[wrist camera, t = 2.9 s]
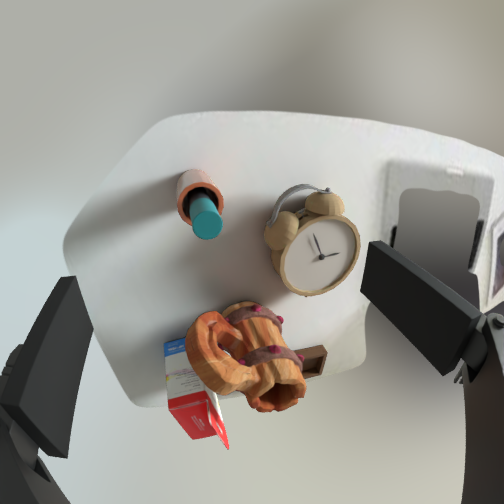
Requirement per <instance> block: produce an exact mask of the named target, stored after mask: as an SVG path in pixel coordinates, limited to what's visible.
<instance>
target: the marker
mask: <svg viewBox="0 0 504 504" xmlns="http://www.w3.org/2000/svg"><path fill="white" fill-rule="evenodd" d="M187 195H188V200H189V205H190V217H191V223H192V228H193V231H194V233H195V234H196V235H197V236H198V237H199V238H201V239H206V240H208V239H213V238H215V237H216V236H218V235H219V233H220V232H221V230H222V227H223V222H222V219H221V217H220V215H219V213H218V211H217V209H216V207H215V205H214V203H213V202H212V201H211V200H210V198H209V196H208V194H207V192H206V190H205V188H204V187H196V188H194V189H192V190H190V191H188V193H187Z"/></svg>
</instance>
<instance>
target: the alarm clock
mask: <svg viewBox="0 0 504 504" xmlns="http://www.w3.org/2000/svg"><path fill="white" fill-rule="evenodd" d="M303 189H314V190H317V191H318V192H314V193H312V194H311V195H309V196H308V197H307V199H306V201H305V209H302V210H300V211H297V212H296V213H295V214H293V213H291V212H289V211H282V212H279V209H280V207H281V205H282V204H283V202H284V201H285V200H286V199H287V198H288V197H289V196H290V195H292V194H293V193H295V192H297V191H299V190H303ZM278 212H279V213H278ZM343 212H344V203H343V201H342V199H341V198H340V197H339V196H337V195H336V194H334V193H332V192H330V188H328V187H327V188H326V190H319V189H317V188H316V187H314V186H312V185H308V184H301V185H296V186H294V187H291V188H289V189H288V190H287V191H285V192H284V193H283V194H282V195H281V196H280V197H279V199H278V200H277V202H276V204H275V206H274V210H273V214H272V216H271V218H270V220H269V221H267V222H266V227H265V230H264V238H265V241H266V243H267V245H268V246H269V247H270V248H272V250H271V260H272V263H273V267H274V269H275V271H276V272H277V273H278V275H279V276H280V277H281V279H282V281H283V283H284V284H285V285H286V286H287V287H288V289H289V290H290V291H292V292H294V293H296V294H298V295H302V296H305V297H307V296H315V295H320V294H323V293H325V292H327V291H330V290H332V289H334V288H335V287H336V286H337V285H339V284H340V283H341V282H342V281H344V280H345V278H346V277H347V276H348V275H349V274H350V272H351V271H352V270H353V268H354V266H355V264H356V262H357V260H358V256H359V252H360V247H361V246H360V235H359V233H358V230H357V228H356V226H355V225H354V224H353V223H352V222H351V221H350V220H349V219H347V218H346V217H344V216H342V215H341V214H342V213H343Z"/></svg>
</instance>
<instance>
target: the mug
mask: <svg viewBox="0 0 504 504" xmlns="http://www.w3.org/2000/svg"><path fill="white" fill-rule="evenodd" d="M282 323H283V318H282V317H281V316H276V315H275V314H274V313H273V312H272V311H271V310H269V309H268V308H265V307H263V306H262V305H260V304H257V303H255V302H251V301H245V302H241V303H237V304H233V305H231V306H229V307H228V308H226V309H225V310H224V311H223V313H222V314H221V315H220V314H219V313H218V312H217V311H210V312H206V313H203V314H202V315H201V316H199V317H198V318H197V319H196V320H195V322H194V323H193V324H192V326H191V327H190V328H189V329H188V331H187V335H186V338H185V351H186V354H187V357H188V360H189V362H190V364H191V366H192V368H193V370H194V371H195V373H196V374H197V375H198V377H199V378H200V379H201V380H202V382H203V383H204V384H205V385H206V386H207V387H208V388H209V389H210V390H212V391H213V392H215V393H216V394H220V395H227V394H229V393H231V392H233V391H235V390H236V391H240V392H241V393H243V394H244V395H245V396H246V398H247V401H248V403H249V405H250V407H251V408H254V409H255V408H256V410H257V411H258V412H271V411H272V410H276V411H278V412H279V411H283V410H285V409H287V408H289V407H291V406H293V405H295V404H297V403H298V398H304V394H305V391H306V383H305V380H304V378H303V376H302V374H301V373H302V363H303V361H304V357H303V355H301V354H296V353H295V352H293V351H292V350H290V349H288V347H287V345H286V344H285V342H284V340H283V338H282V336H281V334H282V326H281V324H282ZM217 342H218V346H217ZM223 350H225V351H227V352H228V353H230V355H231V357H230V356H229V355H228V354H226V353H225V352H224V351H223Z"/></svg>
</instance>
